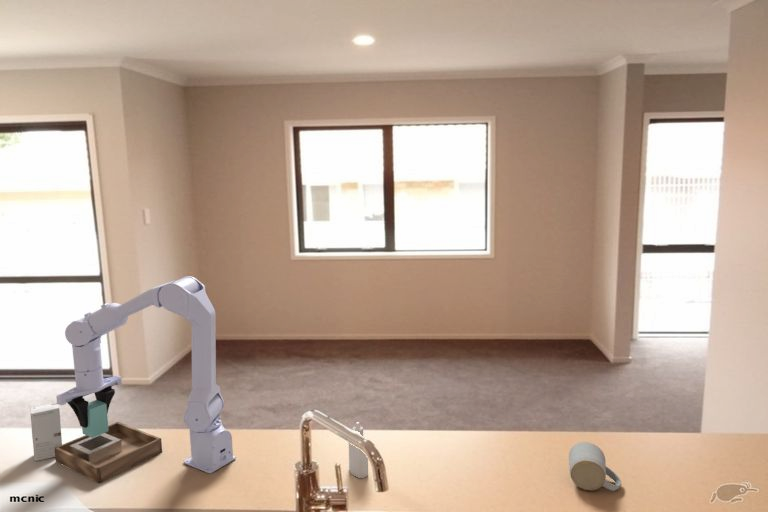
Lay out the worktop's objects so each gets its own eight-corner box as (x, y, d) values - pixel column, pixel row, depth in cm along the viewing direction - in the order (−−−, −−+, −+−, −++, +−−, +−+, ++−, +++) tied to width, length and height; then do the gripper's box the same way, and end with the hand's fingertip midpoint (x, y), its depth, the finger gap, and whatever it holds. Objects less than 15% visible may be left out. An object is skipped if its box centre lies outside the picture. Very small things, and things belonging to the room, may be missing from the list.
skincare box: (34, 462, 128) (29, 414, 126) (34, 454, 132) (28, 407, 130) (64, 454, 131) (59, 407, 129) (63, 447, 135) (58, 401, 133)
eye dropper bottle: (368, 465, 125) (367, 416, 123) (368, 479, 119) (367, 428, 117) (349, 466, 125) (348, 417, 123) (348, 479, 119) (347, 428, 117)
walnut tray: (162, 451, 132) (161, 438, 132) (99, 483, 119) (97, 468, 118) (118, 434, 141) (117, 421, 141) (55, 461, 128) (54, 448, 127)
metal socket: (122, 451, 130) (121, 439, 130) (89, 466, 124) (88, 454, 123) (103, 443, 135) (102, 431, 134) (70, 457, 128) (69, 445, 127)
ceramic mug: (568, 490, 114) (570, 456, 113) (567, 470, 122) (569, 438, 121) (622, 499, 111) (625, 464, 110) (618, 478, 119) (620, 445, 118)
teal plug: (108, 431, 129) (106, 403, 128) (92, 437, 125) (89, 409, 124) (99, 427, 131) (96, 399, 130) (82, 433, 127) (80, 405, 126)
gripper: (108, 356, 134) (112, 407, 136) (47, 374, 122) (53, 430, 124) (125, 361, 131) (129, 413, 133) (63, 380, 118) (69, 438, 120)
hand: (93, 422), depth 128 cm, fingers closed on teal plug, 4 cm apart
